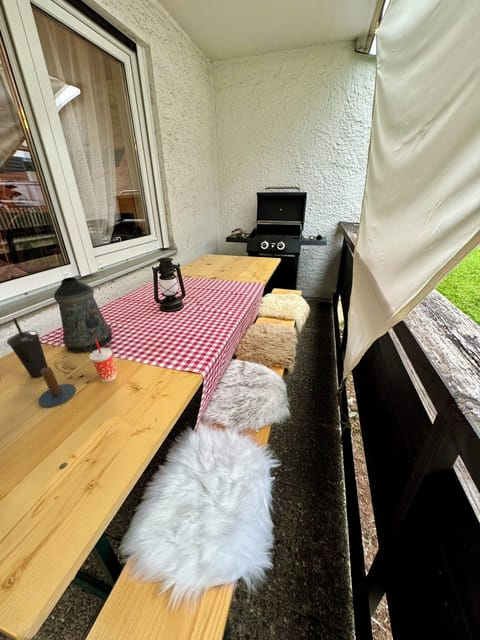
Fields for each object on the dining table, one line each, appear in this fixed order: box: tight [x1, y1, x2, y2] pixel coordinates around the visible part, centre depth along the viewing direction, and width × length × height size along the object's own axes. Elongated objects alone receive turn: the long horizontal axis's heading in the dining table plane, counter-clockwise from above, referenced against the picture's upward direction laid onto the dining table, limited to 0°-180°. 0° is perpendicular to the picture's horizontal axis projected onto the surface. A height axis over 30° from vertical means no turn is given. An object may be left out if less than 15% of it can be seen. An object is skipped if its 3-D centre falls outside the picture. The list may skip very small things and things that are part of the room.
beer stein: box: [53, 276, 113, 354], centre depth 95 cm, size 16×19×25 cm
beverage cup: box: [88, 339, 117, 383], centre depth 78 cm, size 6×6×14 cm
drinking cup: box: [6, 317, 49, 379], centre depth 79 cm, size 8×8×20 cm
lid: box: [37, 366, 77, 409], centre depth 72 cm, size 9×9×10 cm
